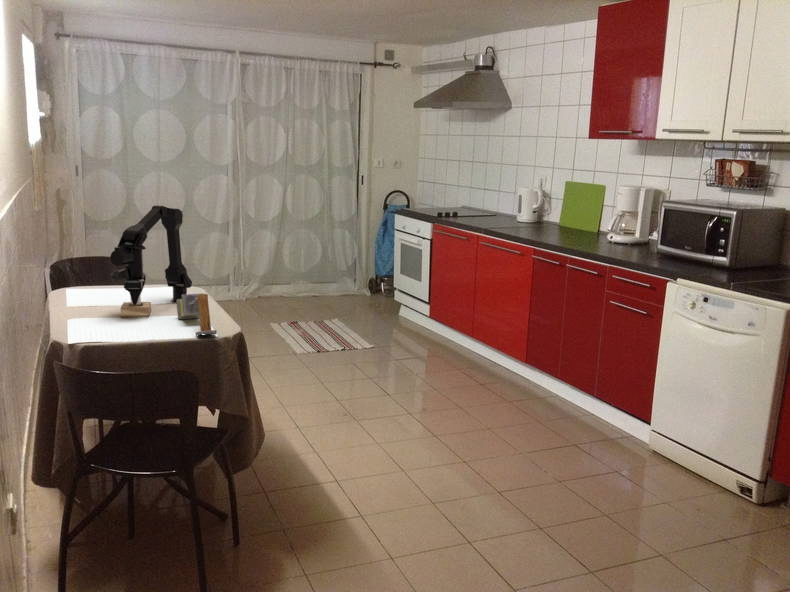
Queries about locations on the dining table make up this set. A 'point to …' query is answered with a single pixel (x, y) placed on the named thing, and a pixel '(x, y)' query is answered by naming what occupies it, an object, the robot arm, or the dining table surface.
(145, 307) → the bore block
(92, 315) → the dining table surface
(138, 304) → the pin
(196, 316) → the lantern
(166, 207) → the robot arm
